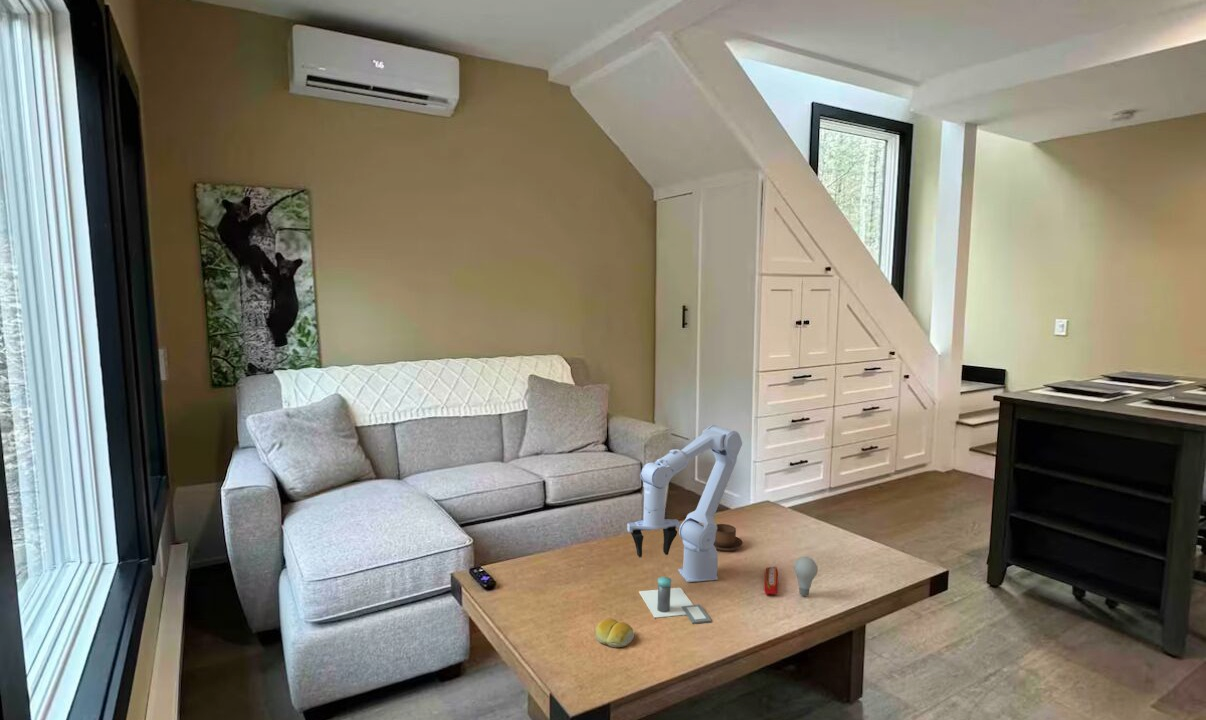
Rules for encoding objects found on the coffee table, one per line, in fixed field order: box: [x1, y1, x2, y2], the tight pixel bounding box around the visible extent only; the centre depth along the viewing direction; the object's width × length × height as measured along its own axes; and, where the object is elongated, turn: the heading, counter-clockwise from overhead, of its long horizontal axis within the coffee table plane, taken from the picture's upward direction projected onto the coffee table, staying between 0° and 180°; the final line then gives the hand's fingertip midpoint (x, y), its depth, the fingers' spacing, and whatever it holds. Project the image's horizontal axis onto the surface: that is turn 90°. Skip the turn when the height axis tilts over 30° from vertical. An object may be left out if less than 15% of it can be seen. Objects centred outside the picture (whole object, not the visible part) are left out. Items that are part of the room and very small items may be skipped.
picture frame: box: [682, 604, 713, 625], centre depth 162 cm, size 5×8×1 cm, turn 13°
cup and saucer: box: [713, 523, 744, 552], centre depth 206 cm, size 12×12×6 cm
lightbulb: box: [793, 556, 819, 597], centre depth 173 cm, size 6×6×11 cm
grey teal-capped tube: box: [657, 576, 672, 612], centre depth 164 cm, size 3×3×8 cm
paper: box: [638, 587, 694, 619], centre depth 169 cm, size 12×14×1 cm
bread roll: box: [595, 618, 635, 648], centre depth 151 cm, size 8×9×4 cm
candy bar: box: [763, 566, 779, 596], centre depth 180 cm, size 16×4×3 cm, turn 164°
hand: (652, 554), depth 175 cm, fingers open, 7 cm apart
